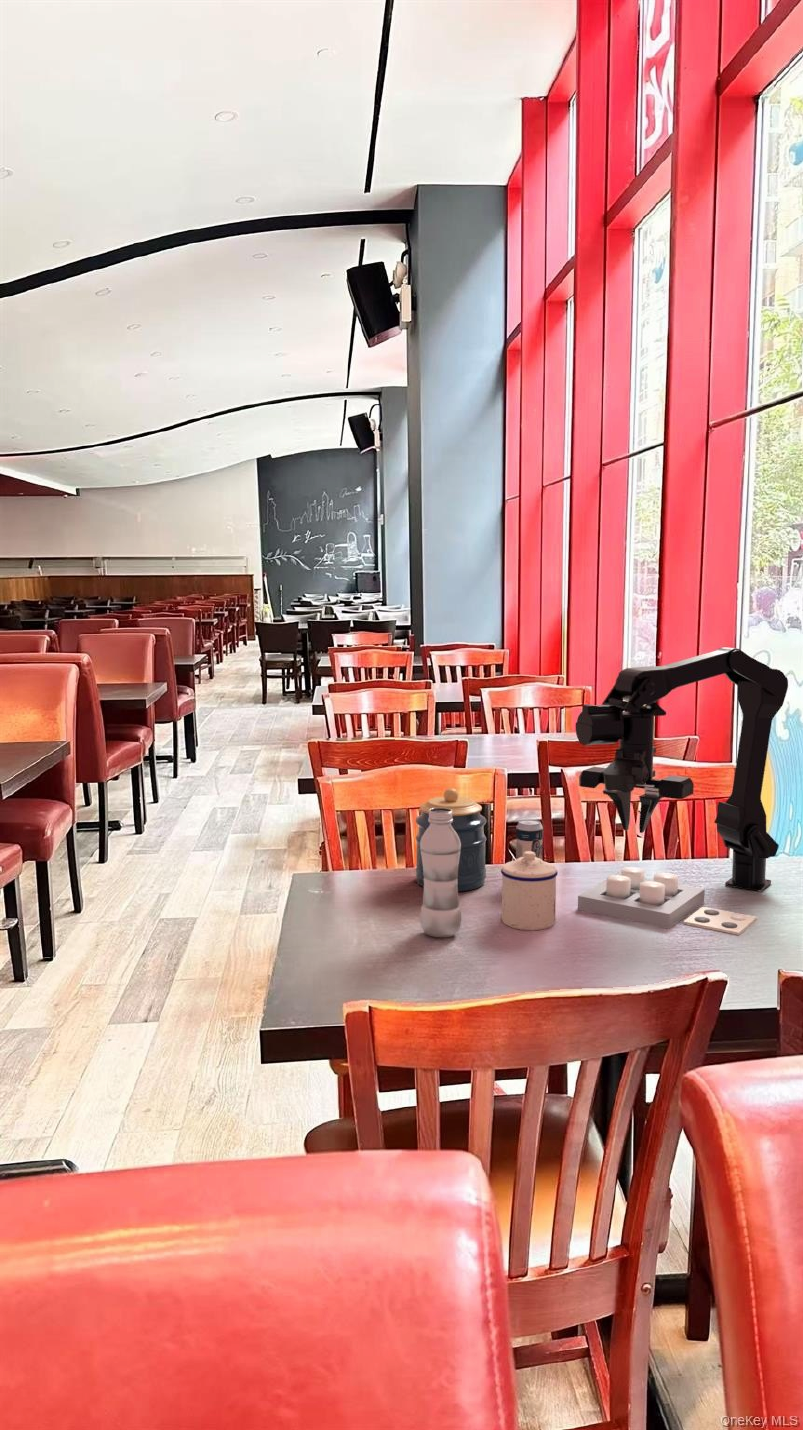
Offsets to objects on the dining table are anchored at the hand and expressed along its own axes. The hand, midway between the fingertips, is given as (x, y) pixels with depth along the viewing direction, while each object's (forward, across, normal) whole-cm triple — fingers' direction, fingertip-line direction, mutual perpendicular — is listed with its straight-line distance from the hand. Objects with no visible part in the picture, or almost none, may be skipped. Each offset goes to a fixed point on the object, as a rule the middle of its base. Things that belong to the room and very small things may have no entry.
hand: (633, 831), depth 172 cm
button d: (+10, +6, -6) cm, 13 cm away
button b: (+10, +6, 0) cm, 12 cm away
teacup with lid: (+12, -10, -20) cm, 26 cm away
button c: (+10, 0, -6) cm, 12 cm away
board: (+12, +3, -3) cm, 13 cm away
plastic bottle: (+12, -17, -34) cm, 40 cm away
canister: (+12, -31, -10) cm, 35 cm away
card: (+12, +16, -3) cm, 21 cm away
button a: (+10, 0, 0) cm, 10 cm away
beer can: (+12, -18, -4) cm, 22 cm away
